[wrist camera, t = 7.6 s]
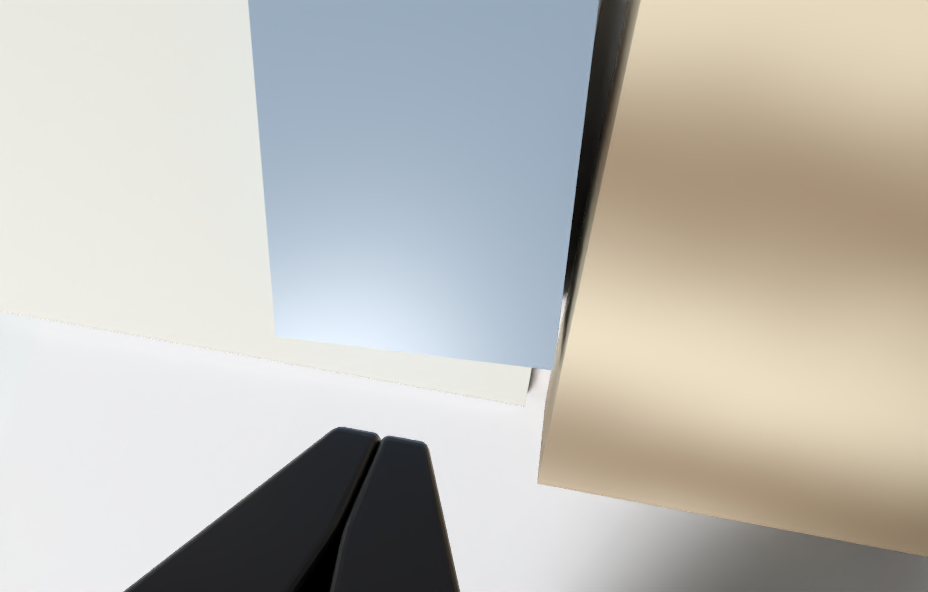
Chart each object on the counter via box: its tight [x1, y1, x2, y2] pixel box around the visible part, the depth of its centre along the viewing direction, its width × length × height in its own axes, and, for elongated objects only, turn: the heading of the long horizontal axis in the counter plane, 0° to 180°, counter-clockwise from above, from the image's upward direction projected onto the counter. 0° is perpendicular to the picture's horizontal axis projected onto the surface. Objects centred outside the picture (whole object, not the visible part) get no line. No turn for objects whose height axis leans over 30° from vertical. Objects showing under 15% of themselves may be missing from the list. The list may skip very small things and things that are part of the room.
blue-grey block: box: [248, 0, 599, 370], centre depth 16 cm, size 9×6×2 cm, turn 177°
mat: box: [0, 0, 602, 407], centre depth 17 cm, size 14×14×1 cm
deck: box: [537, 0, 928, 557], centre depth 15 cm, size 14×12×3 cm
